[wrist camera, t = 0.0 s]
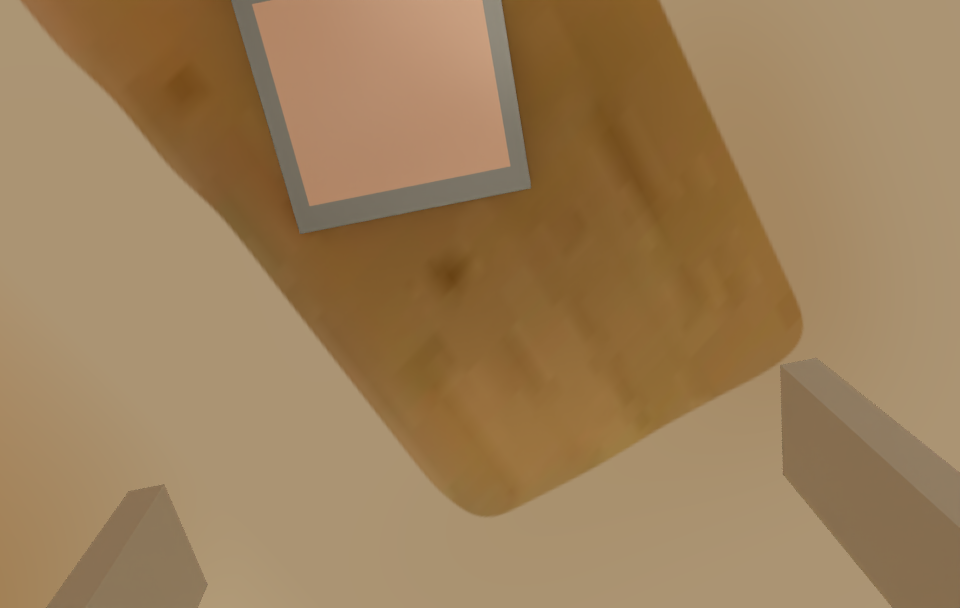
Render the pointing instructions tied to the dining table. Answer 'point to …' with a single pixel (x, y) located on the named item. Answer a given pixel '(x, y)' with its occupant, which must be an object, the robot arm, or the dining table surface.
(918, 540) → the robot arm
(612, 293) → the dining table surface
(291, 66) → the base plate
